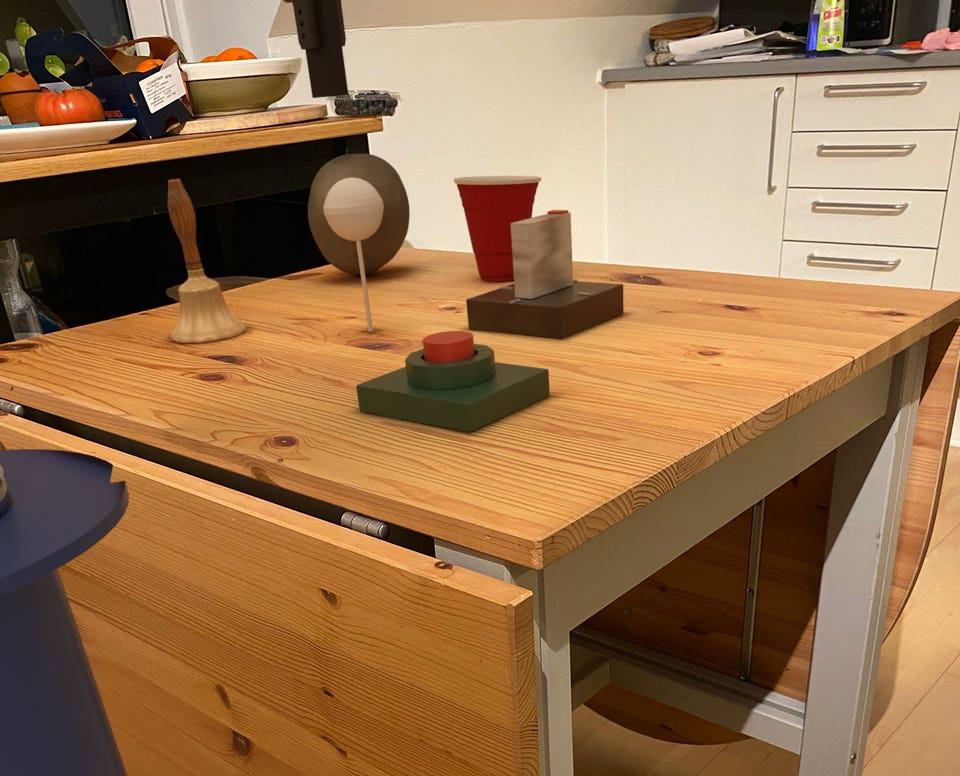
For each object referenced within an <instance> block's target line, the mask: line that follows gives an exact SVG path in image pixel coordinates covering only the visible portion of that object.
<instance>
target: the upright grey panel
mask: <svg viewBox="0 0 960 776" xmlns="http://www.w3.org/2000/svg"><path fill="white" fill-rule="evenodd" d="M511 238H512V254H513V270H514V280H513V284H514V286H515V297H516V298H527V299H533V298H536V297H539V296H542V295H545V294H548V293H551V292H554V291H557V290H559V289H562V288H565V287H568V286H571V285H573V280H574V269H573V267H574V266H573V241H572V240H573V239H572V238H573V237H572V213H571V212H570V211H569V210H568V209H551V210H548V211H547V213H545V214H542V215H537V216H532V218H529V219H525V220H522V221H518V222H514V223H511Z"/></svg>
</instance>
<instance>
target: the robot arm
mask: <svg viewBox="0 0 960 776" xmlns="http://www.w3.org/2000/svg"><path fill="white" fill-rule="evenodd" d="M282 1H283V2H284V3H287V4H290V3H292V8H293V14H294V21H295V26H296V33H297V40H298V44H299V46H300V47H299V48H300V49H301V50H305V55H306V56H305V57H306V63H307V69H308V76H309V85H310V90H311V97H312V99H317V98H330V97H341V96H349V88H348V81H347V71H346V66H345V59H344V51H343V47H346V42H347V38H346V30H345V28H346V27H345V21H344V13H343V6H342V0H282ZM11 502H12V501H11V496H10V493H9V490H8V488H7V485H6V482H5V479H4V477H3V468H2V467H1V465H0V518H1V517H2V516H3V515H4V514H5V513H6V512H7V511H8V509H9V508H10V506H11Z"/></svg>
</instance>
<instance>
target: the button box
mask: <svg viewBox="0 0 960 776" xmlns="http://www.w3.org/2000/svg"><path fill="white" fill-rule="evenodd" d="M474 352H475V356H474V357H471V358H469V359H465V360H460V361H454V362H438V363H435V362H428V361H425V358H424V349H423V348H421V349H418V350H416V351H413V352H410V353H409V354H408V355H407V356H406V357H405V358H404V362H405V366H403V367H401V368H398V369H396V370H393V371H390V372H387V373H385V374H381V375H380V376H376V377H374V378H371V379H369V380H366V381H363V382H360V383H358V384H356V385H355V388H356V396H357V401H358V403H357V404H358V407H359V409H358V410H359V412H362V413H367V414H373V415H377V416H383V417H387V418H393V419H399V420H403V421H409V422H414V423H419V424H425V425H430V426H435V427H440V428H446V429H449V430H450V429H452V430H456V431H461V432H466V433H472V432H475V431H477V430H479V429H481V428H483V427H485V426H487V425H489V424H492V423H494V422H496V421H498V420H500V419H503V418H504V417H505V418H506V417H507V416H509V415H511V414H513V413H516V412H517V411H520V410H522V409H524V408H526V407H528V406H531V405H533V404H535V403H537V402H540V401H541V400H543V399H546V398H549V397H550V396H551V395H550V394H551V392H550V375H549V374H550V373H549V369H548V368H543V367H535V366H527V365H521V364H513V363H505V362H497V361H496V360H495V350H494V349H493V348H491V347H490V346H488V345H486V344H480V343H474Z"/></svg>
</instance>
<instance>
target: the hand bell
mask: <svg viewBox="0 0 960 776" xmlns="http://www.w3.org/2000/svg"><path fill="white" fill-rule="evenodd" d="M167 184H168V186H167V187H168V188H167V189H168V191H167V210H168V214H169V219H170V221H171V225H172V227H173V230H174V231H175V233H176V235H177V237H178V239H179V241H180V244H181V247H182V248H181V249H182V253H183V256H184V257H183V258H184V261H185V268H186V270H187V275H188V278H187V280H185V281H184V283H182V284H181V285H180V286H179V287H178V296H179V297H178V298H179V315H178V316H179V317H178V321H177V324H176V326H175V328H174V329H173V331H172V333H171V336H170V338H171V341H173V342H175V343H180V344H203V343H211V342H217V341H222V340H226V339H230V338H233V337H236V336H239V335H240V334H243V333H244V332H245V331H246V329H247V328H246V325H245V324H244V322H242V321H241V320H240V319H238V318H237V317H236V316H235V315H234V313H233V312H232V311H231V310H230V308H229V306H228V303H227V302H226V300H225V297H224V295H223V291H222V289H221V285H220V283H219V282H218V281H216V280H214V279H212V278H210V277H208V276H206V275H205V271H204V268H203V263H202V262H201V257H200V256H201V255H200V253H199V249H198V245H197V221H196V220H197V219H196V214H195V213H196V212H195V209H194V205H193V203H192V200H191V197H190V196H189V194H188V192H187V191H186V189H185V187H184V185H183V182H182V180H181V178H174V179H169V180H167Z"/></svg>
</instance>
